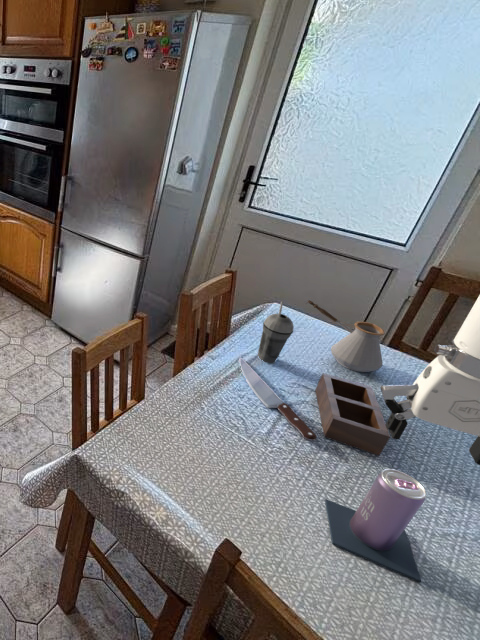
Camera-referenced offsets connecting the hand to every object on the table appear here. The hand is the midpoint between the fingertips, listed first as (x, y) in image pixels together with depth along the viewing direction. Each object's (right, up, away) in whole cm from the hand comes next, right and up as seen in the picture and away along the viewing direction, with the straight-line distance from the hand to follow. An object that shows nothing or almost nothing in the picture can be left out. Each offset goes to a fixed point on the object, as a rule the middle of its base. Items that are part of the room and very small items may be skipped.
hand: (432, 445), depth 67 cm
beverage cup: (+15, 0, +58) cm, 59 cm away
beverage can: (0, -22, +10) cm, 25 cm away
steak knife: (+6, -7, +44) cm, 45 cm away
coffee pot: (+35, 0, +59) cm, 68 cm away
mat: (0, -22, +11) cm, 25 cm away
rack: (+19, -10, +36) cm, 42 cm away
